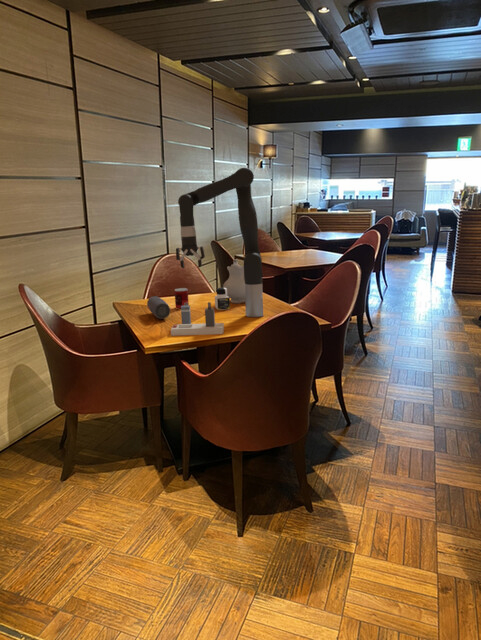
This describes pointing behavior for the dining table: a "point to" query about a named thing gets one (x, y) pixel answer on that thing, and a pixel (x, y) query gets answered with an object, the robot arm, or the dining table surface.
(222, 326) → the strip
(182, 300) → the canned food
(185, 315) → the plug
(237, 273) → the ceramic pitcher
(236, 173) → the robot arm
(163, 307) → the bluetooth speaker
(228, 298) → the medicine bottle
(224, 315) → the dining table surface
